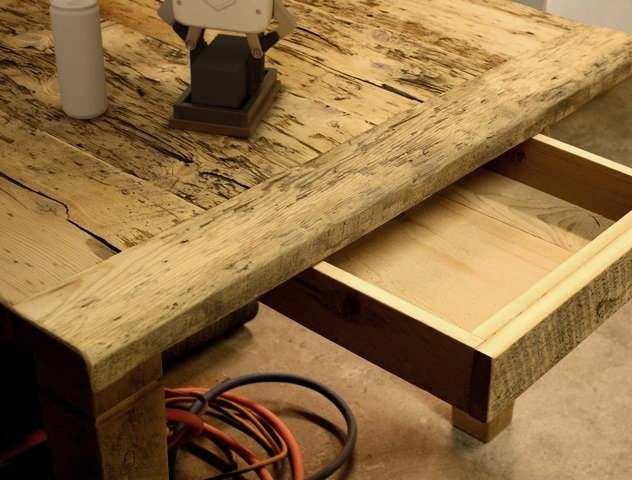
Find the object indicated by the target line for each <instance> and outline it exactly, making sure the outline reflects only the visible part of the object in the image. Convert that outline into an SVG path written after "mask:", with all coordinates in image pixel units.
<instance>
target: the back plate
mask: <svg viewBox="0 0 632 480" xmlns="http://www.w3.org/2000/svg"><path fill="white" fill-rule="evenodd" d="M281 89H282V80H281V79H278V68H276V67H267V66H265V77H264V81H263V83H262V84H261V83H260V84H259V86H258V87H257V89H256V90H255V92H254V93H247V95H246V96H245V98H244V99H243V101H242V102H241V104H240V105H239V107H238V108H234V107H226V106H218V105H210V104H202V103H195V102H192V99H191V82H190V83H189V84H188V86H187V87H186V88H185V89H184V90H183V92H182V93H181V94H180V95H179V96H178V98H177V99H176V100H175V101H174V102H173V104H172V114H171V115H170V117H169V118H168V127H169V128H171V129H179V130H187V131H193V132H194V131H195V132H200V133H201V132H203V133H210V134H217V135H226V136H231V137H238V138H247V139H251V138H252V136H253V135H254V133H255V131H256V130H257V128H258V126H259V125H260V123H261V122H262V120H263V119H264V116H265V115H266V113H267V112H268V110H269V109H270V106H271V105H272V104H273V101H275V99H276V97H277V95H278V94H279V92H280V91H281Z"/></svg>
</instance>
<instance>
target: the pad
mask: <svg viewBox="0 0 632 480" xmlns="http://www.w3.org/2000/svg"><path fill="white" fill-rule="evenodd" d="M249 54H250V47H249V44H248V40H247V37H246V36H242V35H236V34H235V35H234V34H227V33H226V34H225V33H217V34H216V35H215V36H214V38H213V39H212V40H211V41H210V42H209V43H208V46H207V47H206V48H205V50H204V51H203V52H202V53H201V54H200V55H199V57H198V58H197V59H196V60H195V61H194V62H193V64H192V65H191V66H190V65H189V74H190V83H191V99H192V102H195V103H202V104H210V105H218V106H226V107H234V108H238V107H239V105H240V104H241V102H242V101H243V99H244V98H245V96H246V95H247V93H248V91H247V78H246V60H247V57H248V56H249Z"/></svg>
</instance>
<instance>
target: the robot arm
mask: <svg viewBox="0 0 632 480" xmlns="http://www.w3.org/2000/svg"><path fill="white" fill-rule="evenodd" d="M156 14H157V16H158V17H159V18H160V19H161V20H162V21H164V22H165V23H166V25H168V26H170V27H171V28H172V31H173V32H174V33H175V34H176V35H177V36H178V37H179V38H180V39H181V40H182V41H183V43H184V46H185V48H186V49H187V50H188V51H189V67H190V66H191V65H192V64H193V62H194V61H195V60H196V59H197V58H198V57H199V55H200V54H201V53H202V52H203V51H204V50H205V48H206V47H207V46H208V45H209V43H208V41H206V39H205V34H206V31H207V30H214V31H223V32H231V33H240V34H245V37H247V40H248V44H249V47H250V54H249V56H248V57H247V60H246V78H247V91H248V93H254V92H255V90H256V89H257V87H258V86H259V84H260V83H261V84H262V83H263V81H264V77H265V67H266V66H265V64H266V60H265V59H266V53H267V52H268V51H269V50H270V49H272V48H273V47H274V46H275V45H276V44H277V43H278V42H280V41H281V40H283V39H284V38H286V37H288V36H289V35H290V34H293V32H294V31H295V29H297V27H298V23H297V21H296V20H295V18H294V17H293V15H292V14H291V12H290V11H289V10H288V8H287V7H286V6H285V4H284V2H283V1H282V0H164V1H163V2H162V3H161V4H160V6H158V8H157V10H156ZM274 19H275V21H276V22H277V26H275V27H274V28H272V29H270V31H268V32H267V31H266V30H267V29H268V28H269V27H270V24H271V21H272V20H274ZM266 32H267V33H266Z"/></svg>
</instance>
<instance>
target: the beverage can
mask: <svg viewBox="0 0 632 480" xmlns="http://www.w3.org/2000/svg"><path fill="white" fill-rule="evenodd" d="M49 4H50V5H49V7H48V11H49V18H50V19H49V20H50V27H51V34H52V42H53V49H54V57H55V63H56V64H55V65H56V71H57V79H58V80H57V81H58V88H59V97H60V105H61V109H62V111H63V112H64V114H65V115H66V116H68V117H69V118H71V119H76V120H90V119H95V118H98V117H100V116H102V115H103V114H105V112H106V111H107V109H108V107H109V98H108V90H107V77H106V67H105V55H104V46H103V45H104V44H103V35H102V25H101V12H100V6H99V4H98V0H49Z"/></svg>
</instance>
